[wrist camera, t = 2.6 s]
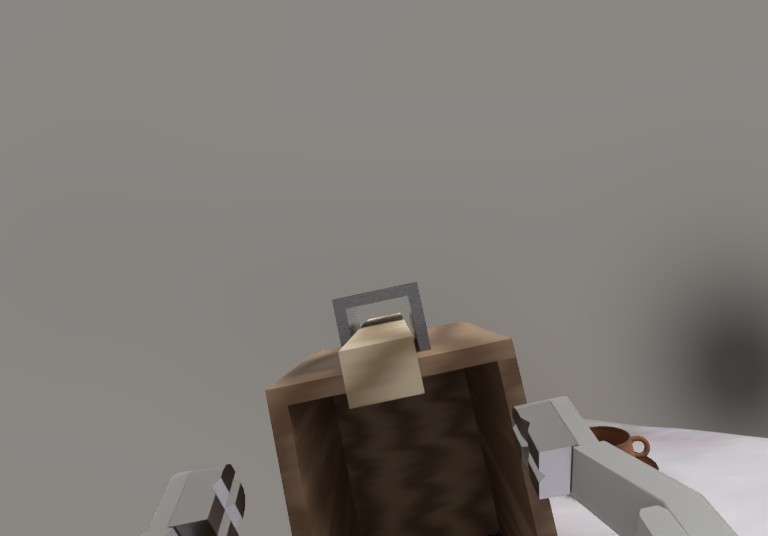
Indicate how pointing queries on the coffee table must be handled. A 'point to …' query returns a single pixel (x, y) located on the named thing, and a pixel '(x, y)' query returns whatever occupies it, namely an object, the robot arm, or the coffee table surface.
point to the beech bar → (380, 362)
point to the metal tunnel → (347, 305)
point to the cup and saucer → (624, 442)
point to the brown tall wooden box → (409, 447)
